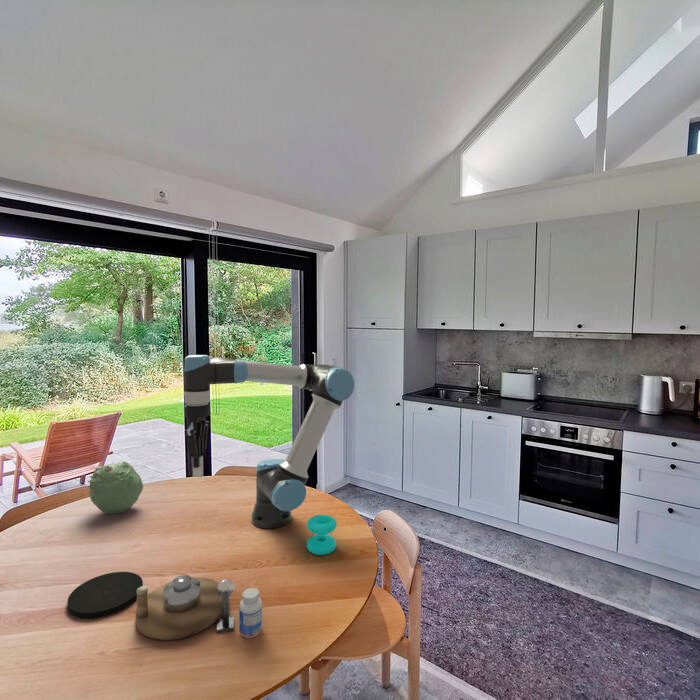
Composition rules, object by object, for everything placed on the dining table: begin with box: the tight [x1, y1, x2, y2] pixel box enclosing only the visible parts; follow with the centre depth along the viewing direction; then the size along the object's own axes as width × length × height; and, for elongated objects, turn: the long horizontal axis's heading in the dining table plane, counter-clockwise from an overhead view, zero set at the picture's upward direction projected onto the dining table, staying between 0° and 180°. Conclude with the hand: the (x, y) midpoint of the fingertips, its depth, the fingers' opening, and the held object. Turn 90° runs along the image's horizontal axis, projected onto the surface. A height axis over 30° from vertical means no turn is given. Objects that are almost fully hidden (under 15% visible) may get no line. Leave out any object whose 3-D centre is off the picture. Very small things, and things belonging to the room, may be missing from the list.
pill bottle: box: [238, 587, 263, 639], centre depth 103 cm, size 6×5×10 cm
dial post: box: [216, 578, 235, 634], centre depth 105 cm, size 4×4×12 cm
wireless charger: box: [67, 571, 144, 620], centre depth 115 cm, size 18×18×2 cm
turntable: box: [135, 577, 222, 641], centre depth 110 cm, size 22×22×8 cm
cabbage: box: [87, 461, 144, 515], centre depth 166 cm, size 16×19×20 cm
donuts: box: [306, 514, 338, 556], centre depth 142 cm, size 10×10×10 cm
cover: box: [163, 574, 200, 614], centre depth 110 cm, size 9×9×6 cm
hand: (198, 476), depth 135 cm, fingers closed
